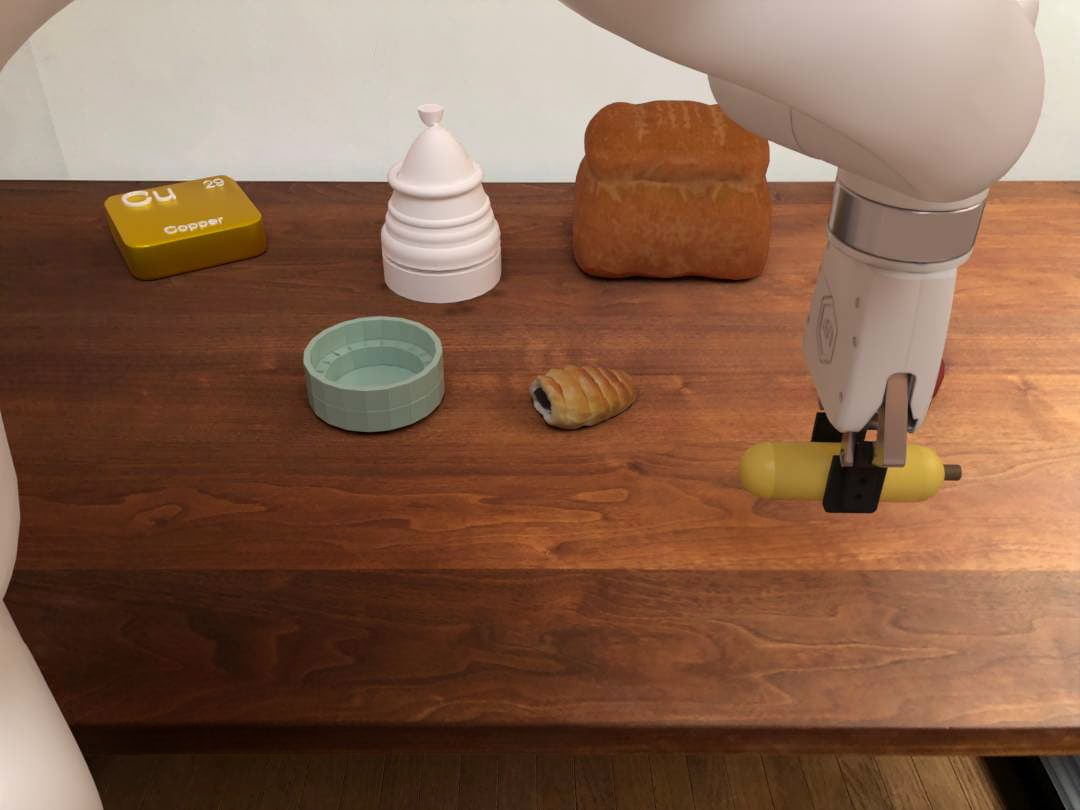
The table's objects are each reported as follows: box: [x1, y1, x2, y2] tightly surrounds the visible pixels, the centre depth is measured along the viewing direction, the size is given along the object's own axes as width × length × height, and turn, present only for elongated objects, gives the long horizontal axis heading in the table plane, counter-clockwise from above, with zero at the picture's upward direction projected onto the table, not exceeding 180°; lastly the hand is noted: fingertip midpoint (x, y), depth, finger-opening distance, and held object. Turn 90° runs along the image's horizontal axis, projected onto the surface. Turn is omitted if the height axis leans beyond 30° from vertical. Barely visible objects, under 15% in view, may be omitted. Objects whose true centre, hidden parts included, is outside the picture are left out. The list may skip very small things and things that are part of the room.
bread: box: [572, 99, 773, 281], centre depth 115 cm, size 18×22×17 cm
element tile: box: [103, 174, 268, 281], centre depth 120 cm, size 15×15×5 cm
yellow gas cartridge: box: [737, 440, 963, 503], centre depth 65 cm, size 14×4×4 cm, turn 90°
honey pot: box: [380, 103, 502, 304], centre depth 111 cm, size 13×13×18 cm
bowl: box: [302, 315, 446, 433], centre depth 95 cm, size 12×12×5 cm
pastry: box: [529, 364, 637, 430], centre depth 94 cm, size 9×7×4 cm
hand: (840, 485), depth 66 cm, fingers closed on yellow gas cartridge, 3 cm apart
